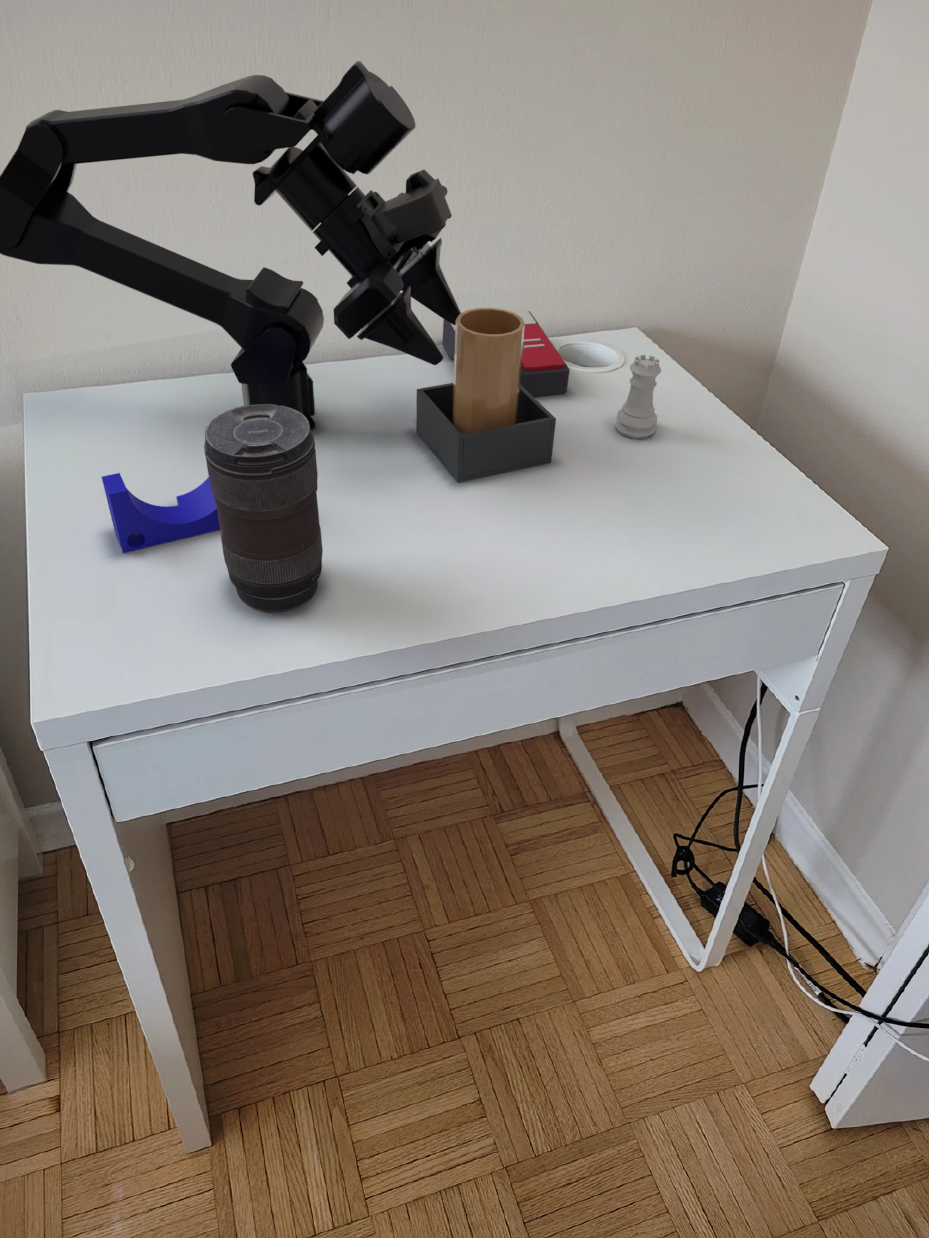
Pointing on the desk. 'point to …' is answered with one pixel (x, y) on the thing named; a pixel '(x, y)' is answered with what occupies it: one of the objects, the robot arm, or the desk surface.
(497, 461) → the bin
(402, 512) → the desk surface
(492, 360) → the wooden cup
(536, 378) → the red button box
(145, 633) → the desk surface
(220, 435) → the camera lens
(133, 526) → the blue semicircular cradle bracket
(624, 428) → the rook chess piece
